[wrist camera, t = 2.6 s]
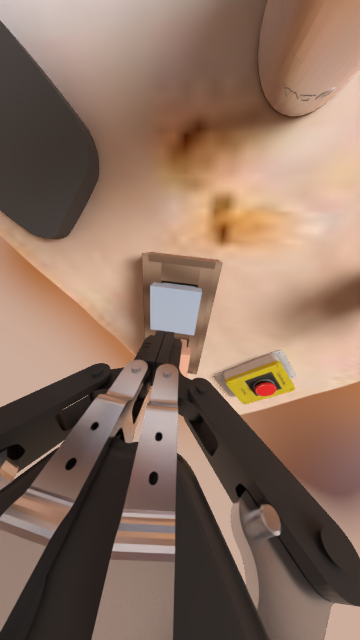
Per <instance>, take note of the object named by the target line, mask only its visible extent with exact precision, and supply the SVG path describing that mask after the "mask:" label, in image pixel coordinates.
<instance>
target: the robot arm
mask: <svg viewBox="0 0 360 640" xmlns="http://www.w3.org/2000/svg"><path fill="white" fill-rule="evenodd" d="M258 68H259V77H260V82H261V87H262V89H263V92H264V94H265V97H266V99H267V101H268V102H269V103H270V105H271V106H272V107H273V108H274V109H275V110H276V111H278V112H279V113H281V114H283V115H287V116H302V115H305V114H307V113H310V112H313V111H315V110H316V109H318V108H319V107H321V106H323V105H324V104H326V103H327V102H328V101H329V100H330V99H331V98H332V97H334V96H335V95H336V94H337V93H338V92H339V91H340V90H341V89H342V88H343V87H344V86H345V85H346V83H347V82H348V81H349V80H350V79H351V78H352V77H353V76H354V75H355V74H356V73H357V72H358V71H359V70H360V0H268V1H267V5H266V8H265V12H264V16H263V21H262V26H261V31H260V38H259V49H258ZM181 350H182V342H181V339H177V338H175V332H170V331H162V330H157V331H156V334H155V336H154V335H149V336H148V337H147V338H146V339H145V340H144V342H143V344H142V346H141V348H140V350H139V352H138V353H137V355H136V357H135V359H134V360H133V361H130V362H129V363H128V364H127V365H126V366H125V367H124V368H118V369H110V367H109V365H107V364H104V363H99V364H95V365H92V366H90V367H88V368H86V369H84V370H81V371H79V372H77V373H75V374H73V375H70V376H68V377H66V378H64V379H62V380H60V381H57V382H55V383H53V384H51V385H49V386H46V387H44V388H42V389H40V390H37V391H35V392H33V393H31V394H29V395H27V396H24V397H22V398H20V399H18V400H16V401H13V402H11V403H9V404H7V405H5V406H2V407H0V640H324V637H325V632H326V628H327V624H328V619H329V614H330V610H331V606H332V605H333V604H334V603H340V604H347V605H353V606H360V558H359V556H358V554H357V552H356V550H355V549H354V547H353V545H352V543H351V542H350V540H349V539H348V537H347V536H346V535H345V533H344V532H343V531H342V530H341V528H340V527H339V526H338V525H337V524H336V522H335V521H334V520H333V519H332V518H331V517H330V516H329V515H328V514H327V512H326V511H325V510H324V509H323V508H322V507H321V506H320V505H319V504H318V502H317V501H316V500H315V499H314V498H313V497H312V496H311V495H310V494H309V493H308V492H307V490H306V489H305V488H304V487H303V486H302V485H301V483H300V482H299V481H298V480H297V479H296V478H295V477H294V476H293V475H292V474H291V472H290V471H289V470H288V469H287V468H286V467H285V466H284V465H283V463H282V462H281V461H280V460H279V459H278V458H277V457H276V456H275V455H274V454H273V452H272V451H271V450H270V449H269V448H268V447H267V446H266V445H265V444H264V442H263V441H262V440H261V439H260V438H259V437H258V436H257V435H256V433H255V432H254V431H253V430H252V429H251V428H250V427H249V426H248V425H247V423H246V422H245V421H244V420H243V419H242V418H241V417H240V416H239V414H238V413H237V412H236V411H235V410H234V409H233V408H232V407H231V406H230V404H229V403H228V402H227V401H226V400H225V399H224V398H223V397H222V396H221V394H220V393H219V392H218V391H217V390H216V389H215V388H214V387H213V386H212V384H211V383H210V382H209V381H207V380H206V379H203V378H195V379H193V380H190V379H188V378H186V377H185V376H183V375H182V373H181V372H180V369H179V365H180V357H181ZM150 386H153V388H152V392H151V397H150V401H149V403H148V404H147V407H146V412H145V417H144V420H143V425H142V429H141V434H140V438H139V442H133V443H132V441H133V438H134V433H135V428H136V426H137V423H138V420H139V418H140V415H141V413H142V410H143V408H144V405H145V403H146V400H147V398H148V392H149V389H150ZM87 395H88V396H87ZM85 396H86V397H85ZM83 397H85V398H83ZM82 398H83V399H82ZM80 399H81V400H80ZM78 400H80V401H78ZM76 401H78V402H76ZM75 402H76V403H75ZM73 403H74V404H73ZM71 404H73V405H71ZM69 405H71V406H69ZM68 406H69V407H68ZM66 407H67V408H66ZM64 408H66V409H64ZM62 409H63V410H62ZM178 414H180V415H181V416H183V417H184V419H185V421H186V423H187V425H188V427H189V428H190V430H191V432H192V433H193V435H194V437H195V439H196V440H197V442H198V444H199V445H200V447H201V449H202V451H203V452H204V454H205V456H206V458H207V459H208V461H209V463H210V464H211V466H212V468H213V469H214V471H215V473H216V475H217V476H218V478H219V480H220V482H221V483H222V485H223V487H224V489H225V490H226V492H227V494H228V495H229V497H230V499H231V501H232V502H233V506H232V510H231V526H232V531H233V535H234V538H235V541H236V543H237V545H238V548H239V550H240V553H241V556H242V560H243V564H244V569H245V576H246V585H245V583H244V581H243V579H242V576H241V574H240V572H239V570H238V568H237V565H236V563H235V561H234V559H233V557H232V555H231V552H230V550H229V548H228V546H227V544H226V541H225V539H224V537H223V535H222V533H221V531H220V528H219V526H218V524H217V522H216V520H215V518H214V515H213V513H212V511H211V509H210V507H209V504H208V502H207V500H206V498H205V496H204V493H203V491H202V489H201V487H200V485H199V483H198V480H197V478H196V476H195V474H194V472H193V470H192V469H191V467H190V466H189V464H188V463H187V462H186V461H185V459H183V457H182V456H181V455H179V454H178V453H177V433H178V432H177V431H178ZM63 440H64V441H63ZM62 441H63V443H62V444H61V445H60V447H58V448H57V449H55V450H54V451H52V452H51V453H50V454H48V455H47V456H46V457H44V458H43V459H41V460H40V461H39V462H37V463H36V464H35V465H33V466H32V467H31V468H29V469H28V470H27V471H25V472H24V473H23V474H21V475H20V476H18V477H17V478H16V479H14V477H15V476H16V474H17V473H18V472H19V471H20V470H22V469H23V468H25V467H26V466H28V465H29V464H31V463H32V462H33V461H35V460H36V459H38V458H39V457H41V456H42V455H43V454H45V453H46V452H48V451H49V450H51V449H52V448H53V447H55V446H56V445H58V444H59V443H61V442H62Z"/></svg>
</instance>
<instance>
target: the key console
mask: <svg viewBox="0 0 360 640" xmlns="http://www.w3.org/2000/svg"><path fill="white" fill-rule="evenodd" d="M142 268H143V300H144V331H145V339H146V338H147V337H148V336H149V335H154V336H155V334H156V331H157V330H151V329H150V285H151V284H153V283H154V282H156V283H163V282H164V283H171V284H179V285H187V286H195V287H196V288H201V289H202V295H201V301H200V306H199V312H198V317H197V323H196V328H195V333H194V335H187V334H180V333H175V338H179V339H186V340H187V347H188V348H191V355H190V361H189V366H188V372H187V373H191V374H197V371H198V366H199V362H200V358H201V353H202V349H203V345H204V340H205V336H206V332H207V328H208V323H209V319H210V315H211V310H212V306H213V302H214V298H215V293H216V289H217V285H218V280H219V276H220V272H221V268H222V262H220V261H219V260H214V259H206V258H197V257H189V256H180V255H172V254H163V253H155V252H149V253H142Z"/></svg>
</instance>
